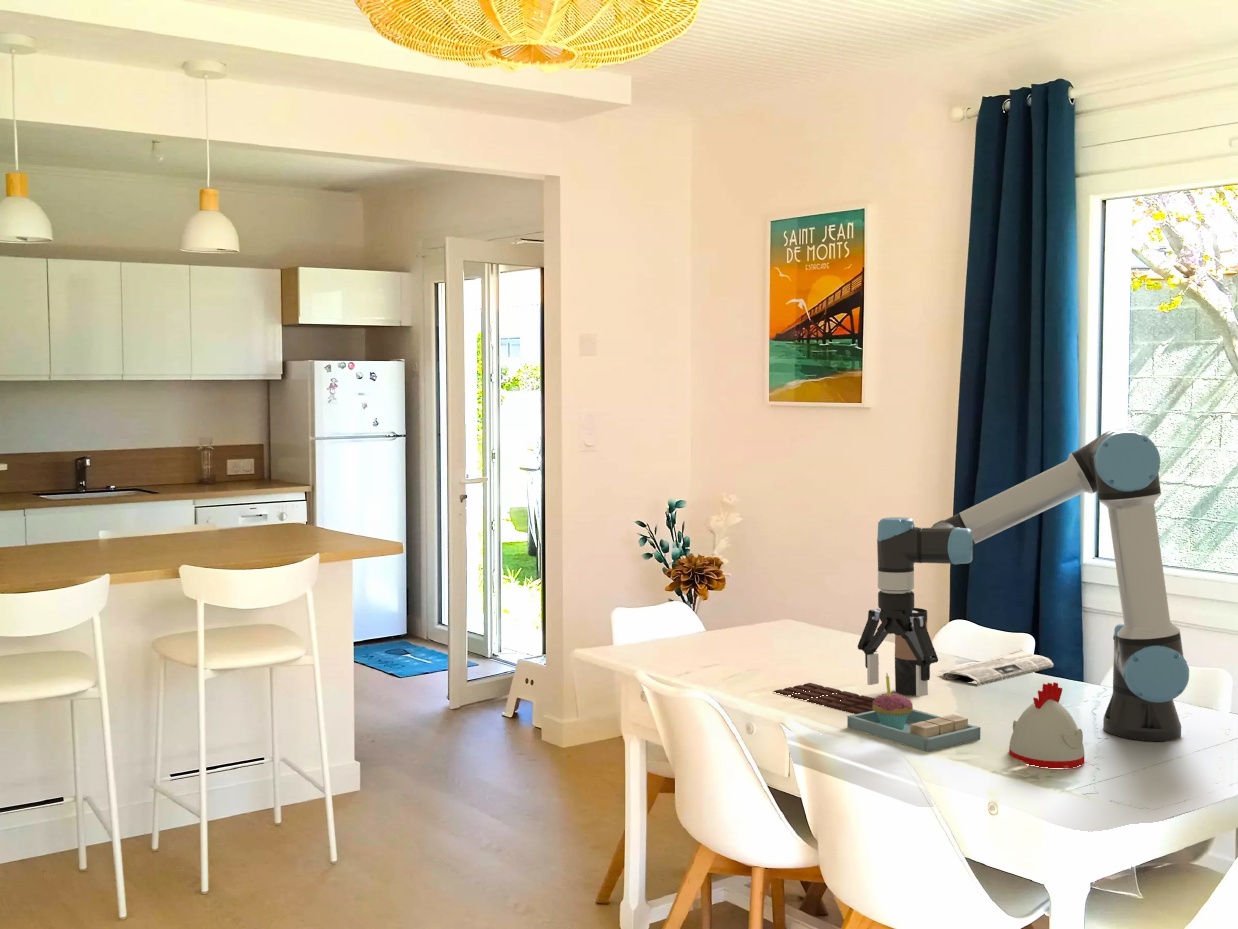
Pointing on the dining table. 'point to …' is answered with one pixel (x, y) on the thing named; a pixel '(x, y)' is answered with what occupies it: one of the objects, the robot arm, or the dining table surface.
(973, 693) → the dining table surface
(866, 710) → the chocolate bar
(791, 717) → the dining table surface
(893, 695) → the cupcake
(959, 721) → the block
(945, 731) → the block
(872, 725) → the tray
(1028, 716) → the kitchen timer
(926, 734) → the block
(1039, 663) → the newspaper
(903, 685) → the travel mug
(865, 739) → the dining table surface
